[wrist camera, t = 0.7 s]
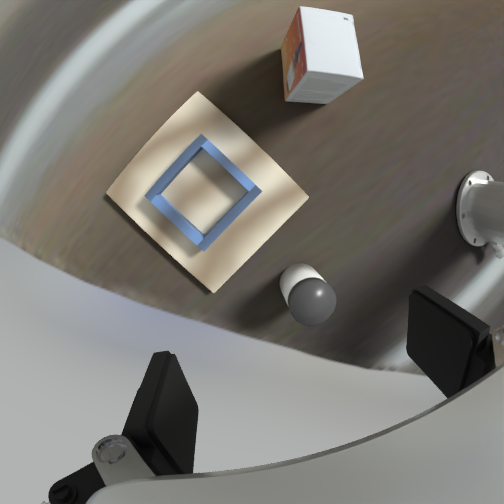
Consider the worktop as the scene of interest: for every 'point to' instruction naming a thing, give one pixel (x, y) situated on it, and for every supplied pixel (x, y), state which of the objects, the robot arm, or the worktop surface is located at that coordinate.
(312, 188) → the worktop surface
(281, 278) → the gray domed white cylinder
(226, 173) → the mount plate
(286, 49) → the small box
